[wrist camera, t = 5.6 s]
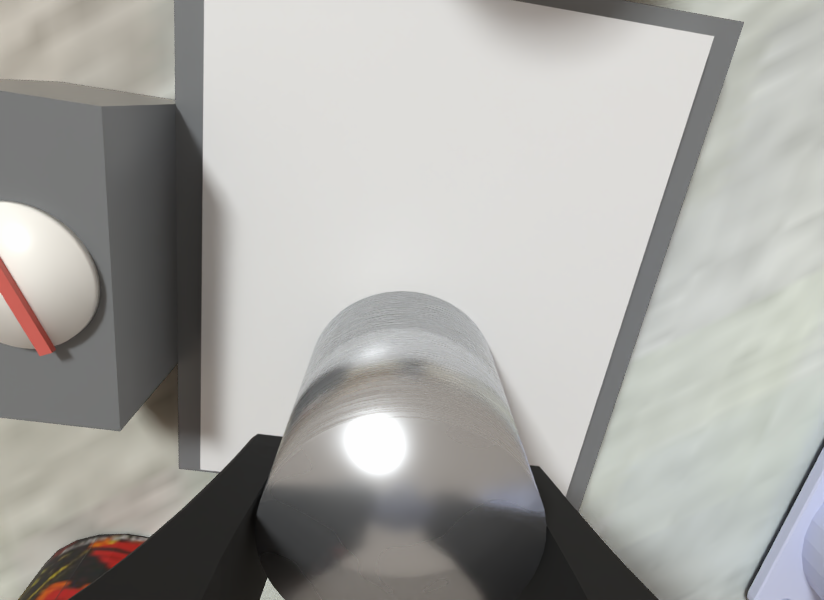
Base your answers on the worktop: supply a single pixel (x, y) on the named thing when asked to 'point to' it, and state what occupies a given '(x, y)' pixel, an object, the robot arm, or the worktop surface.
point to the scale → (352, 207)
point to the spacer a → (400, 465)
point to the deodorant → (79, 566)
